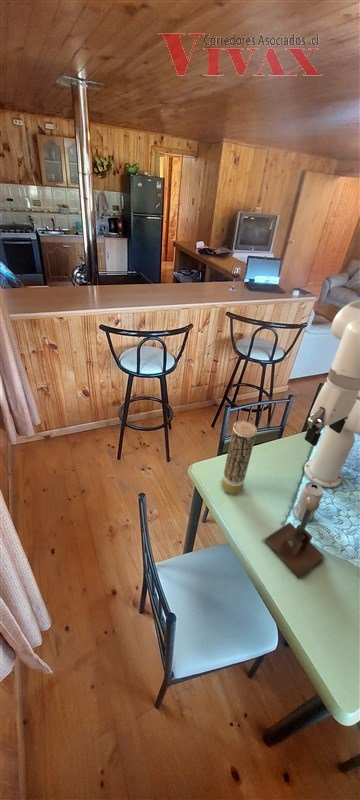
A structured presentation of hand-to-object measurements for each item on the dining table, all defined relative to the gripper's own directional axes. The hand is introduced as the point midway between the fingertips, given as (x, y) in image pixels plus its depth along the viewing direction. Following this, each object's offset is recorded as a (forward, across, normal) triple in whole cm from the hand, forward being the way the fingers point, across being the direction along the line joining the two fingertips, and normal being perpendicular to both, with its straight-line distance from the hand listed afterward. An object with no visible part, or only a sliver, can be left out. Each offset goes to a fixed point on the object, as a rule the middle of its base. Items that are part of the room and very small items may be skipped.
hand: (322, 436), depth 82 cm
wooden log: (+32, +8, -18) cm, 38 cm away
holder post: (+20, +8, +6) cm, 22 cm away
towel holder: (+32, +8, +8) cm, 34 cm away
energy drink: (+32, -4, +2) cm, 33 cm away
